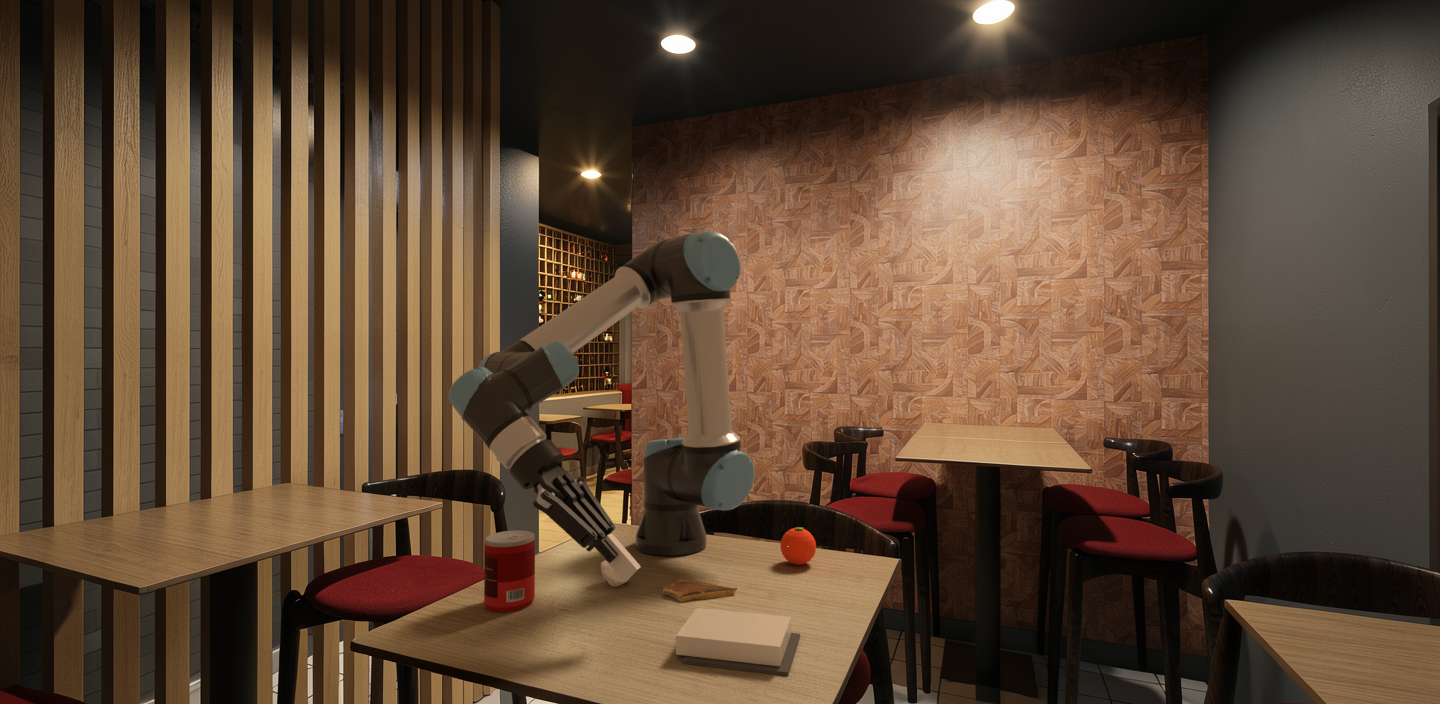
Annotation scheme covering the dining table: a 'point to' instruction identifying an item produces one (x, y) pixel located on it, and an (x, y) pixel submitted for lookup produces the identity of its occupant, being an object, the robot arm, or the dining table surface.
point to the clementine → (798, 546)
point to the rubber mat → (780, 670)
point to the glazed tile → (735, 636)
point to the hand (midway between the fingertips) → (632, 574)
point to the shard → (696, 590)
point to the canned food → (509, 570)
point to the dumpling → (611, 575)
